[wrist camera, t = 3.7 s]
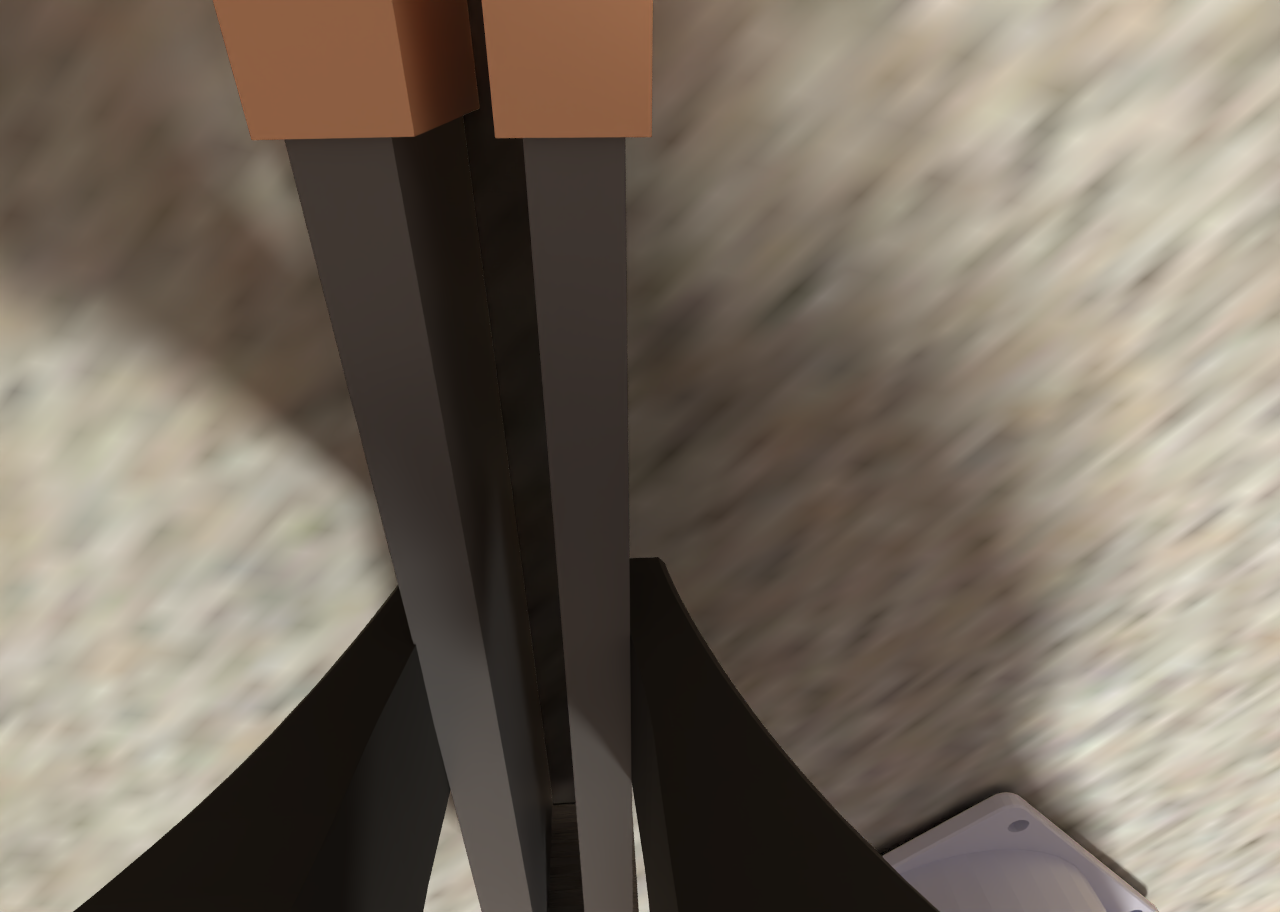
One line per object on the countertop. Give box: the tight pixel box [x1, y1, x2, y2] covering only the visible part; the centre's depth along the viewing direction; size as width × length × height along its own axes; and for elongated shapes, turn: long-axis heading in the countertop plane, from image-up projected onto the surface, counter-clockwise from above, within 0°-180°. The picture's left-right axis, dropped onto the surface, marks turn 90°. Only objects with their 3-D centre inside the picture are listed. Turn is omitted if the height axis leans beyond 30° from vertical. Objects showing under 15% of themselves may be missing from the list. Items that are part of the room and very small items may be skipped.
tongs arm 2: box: [213, 0, 553, 912], centre depth 9 cm, size 17×1×4 cm, turn 1°
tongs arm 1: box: [482, 0, 653, 912], centre depth 10 cm, size 17×1×4 cm, turn 0°
